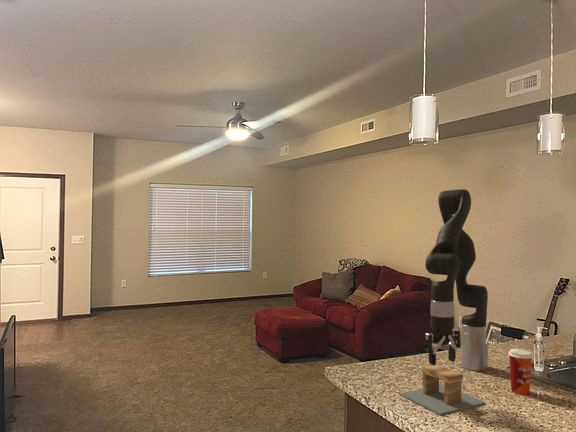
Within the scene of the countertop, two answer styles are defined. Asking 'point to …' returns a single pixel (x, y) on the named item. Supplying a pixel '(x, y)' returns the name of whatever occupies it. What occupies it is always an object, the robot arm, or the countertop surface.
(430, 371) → the tan wooden block
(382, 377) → the countertop surface
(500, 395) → the countertop surface
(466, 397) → the mat
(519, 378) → the paper cup
